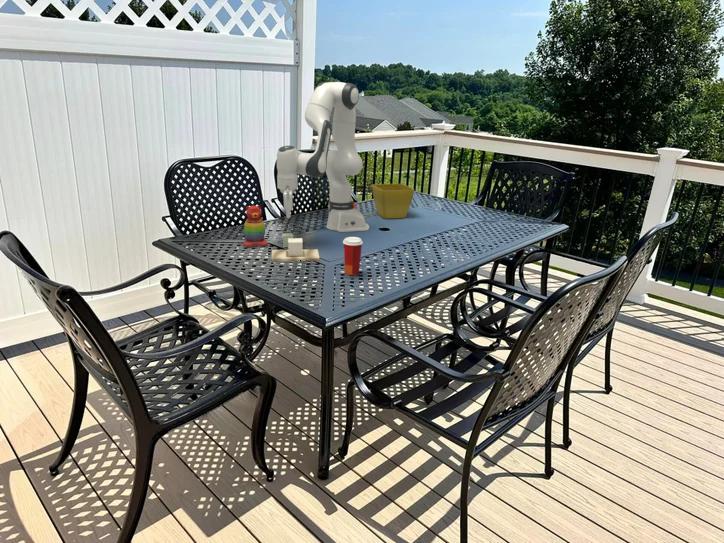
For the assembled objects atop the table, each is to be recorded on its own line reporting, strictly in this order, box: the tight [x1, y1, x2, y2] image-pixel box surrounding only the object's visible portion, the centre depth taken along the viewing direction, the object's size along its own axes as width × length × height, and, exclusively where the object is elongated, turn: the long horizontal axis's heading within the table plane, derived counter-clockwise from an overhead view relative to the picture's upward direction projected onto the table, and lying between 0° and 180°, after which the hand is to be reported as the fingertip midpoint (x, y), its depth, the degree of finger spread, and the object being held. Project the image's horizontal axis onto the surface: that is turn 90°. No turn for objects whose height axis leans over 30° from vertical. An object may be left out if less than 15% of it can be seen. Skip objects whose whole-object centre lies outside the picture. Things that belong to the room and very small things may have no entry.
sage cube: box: [282, 232, 294, 248], centre depth 234 cm, size 4×4×6 cm
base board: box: [271, 248, 320, 262], centre depth 221 cm, size 20×12×1 cm, turn 98°
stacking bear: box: [242, 205, 269, 248], centre depth 233 cm, size 11×10×18 cm
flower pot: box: [371, 183, 415, 220], centre depth 291 cm, size 19×19×17 cm
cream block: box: [287, 237, 304, 256], centre depth 220 cm, size 6×6×6 cm
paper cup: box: [342, 236, 364, 276], centre depth 202 cm, size 8×8×14 cm
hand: (288, 214), depth 229 cm, fingers open, 8 cm apart
